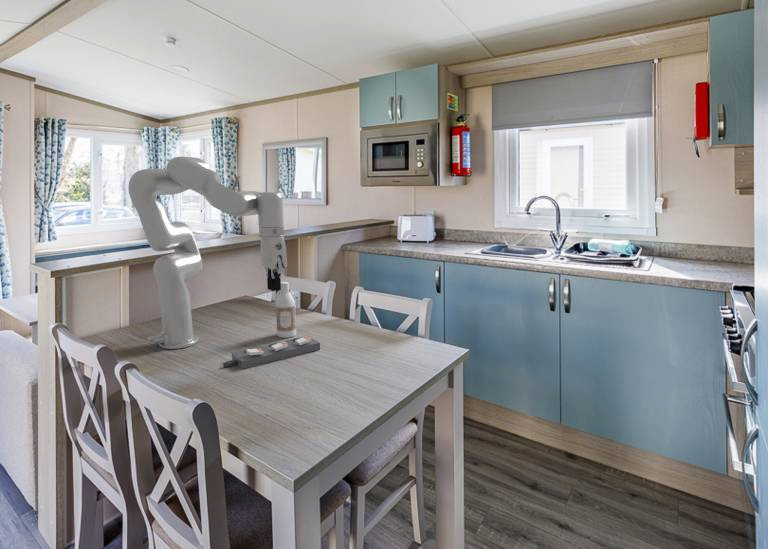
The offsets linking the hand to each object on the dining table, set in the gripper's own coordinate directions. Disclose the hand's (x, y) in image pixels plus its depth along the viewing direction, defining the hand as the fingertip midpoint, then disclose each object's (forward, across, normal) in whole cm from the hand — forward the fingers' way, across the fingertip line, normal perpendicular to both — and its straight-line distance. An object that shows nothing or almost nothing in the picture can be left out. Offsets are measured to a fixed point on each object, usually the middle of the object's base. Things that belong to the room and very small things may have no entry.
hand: (274, 289), depth 145 cm
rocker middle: (+19, -2, 0) cm, 19 cm away
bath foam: (+22, +16, -11) cm, 30 cm away
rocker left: (+19, -2, +8) cm, 21 cm away
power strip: (+22, 0, +2) cm, 22 cm away
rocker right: (+19, -2, -8) cm, 21 cm away
